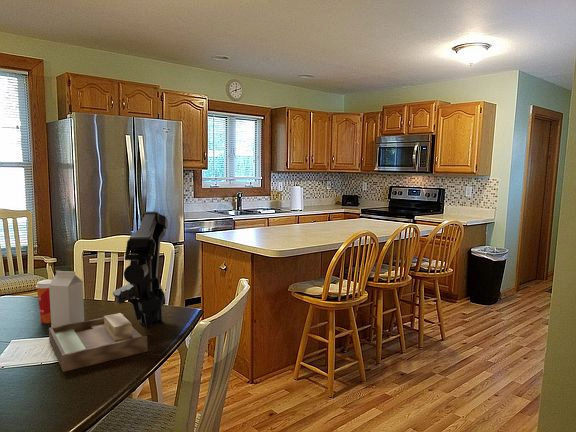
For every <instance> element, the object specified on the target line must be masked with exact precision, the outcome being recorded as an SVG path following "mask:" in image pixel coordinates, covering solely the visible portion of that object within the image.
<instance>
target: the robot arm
mask: <svg viewBox="0 0 576 432" xmlns="http://www.w3.org/2000/svg"><path fill="white" fill-rule="evenodd" d="M168 225H169V223H168V218H167V216H166V215H163V214H160V212H158V211H145V212H142V217H141V222H140V225H139V226H138V227H139V228H138V230H137V231H135V232H132V233H131V235H130V236H129V239H127V241H126V247H125V256H124V260H125V261H130V262H129V265H128V266H127V267H125V269H124V271H123V278H124V280H125V281H126V282H127V283H128V284H126V285H123V286H121V287H120V288H117V289H116V290H114V291H112V295H113V297H114V299H115V301H116V302H117V303H118V304H119V305H122V304H124V303H126V302H127V301H128V302H129V303H130V304H131V305H132V308H133V311H134V315H135V318H136V320H137V321H139V322H140V323H141V324H142V325H143V326H144V327H145V328H146V329H147V330H148V329H151V328H152V326H154V325H158V324H163V323H164V320H163V319H162V318H163V317H162V315H163V314H162V312H163V311H162V307H163V306H165V305H166V296H165V292H164V289H163V288H162V284H161V282H160V281H159V278H158V277H159V275H158V274H159V263H160V262H159V261H160V252H161V251H160V250H161V249H160V248H161V241H162V239H163V238H164V237H165V236H166V234H167V233H166V232H167V230H168V227H169V226H168Z"/></svg>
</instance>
